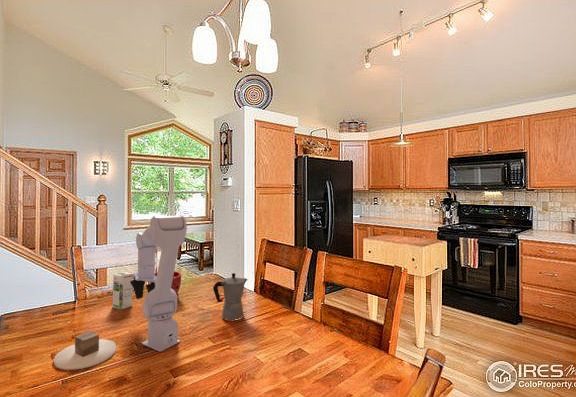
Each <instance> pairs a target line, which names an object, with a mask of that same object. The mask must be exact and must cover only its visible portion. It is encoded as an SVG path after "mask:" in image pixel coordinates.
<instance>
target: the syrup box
mask: <svg viewBox="0 0 576 397" xmlns="http://www.w3.org/2000/svg"><path fill="white" fill-rule="evenodd" d="M132 274H133V273H131V272H126V271H122V272H121V271H120V272H116V273H114V274H113V281H112V282H113V283H112V284H113V285H112V286H113V287H112V308H114V309H116V310H119V311H122V310H124V309H127V308H129V307H132V306H133V292H134V289H133V286H132V285H131V283H130V281H132V280H134V279H132Z"/></svg>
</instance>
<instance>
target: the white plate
mask: <svg viewBox="0 0 576 397" xmlns="http://www.w3.org/2000/svg"><path fill="white" fill-rule="evenodd" d="M116 352H117V344H116V343H115V342H114V341H112V340H111V339H105V338H104V339H100V338H99V351H96V352H94V353H92V354H89V355H87V356H84V357H82V356H80V355H78V354H76V353H75V343H74V344H71V345H69V346H67V347H64V348H63V349H62V350H60V351H59V352H57V353H56V354H55V356H54V357H53V366H55V368H58V369H60V370H63V371H75V370H81V369H87V368H90V367H93V366H96V365H99V364H102V363H105V361H107V360H109V359H110V358H112V356H113V355H114V354H115V353H116Z"/></svg>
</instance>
